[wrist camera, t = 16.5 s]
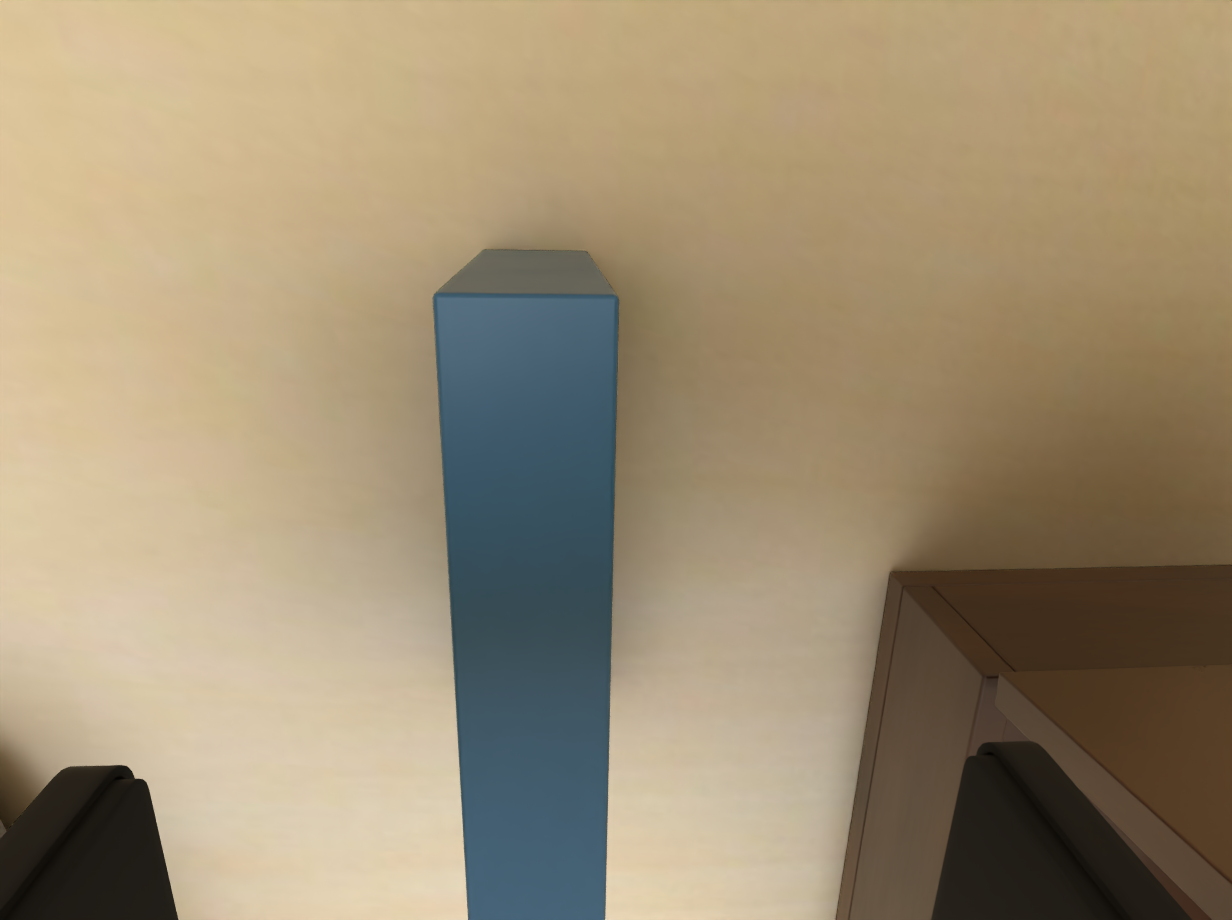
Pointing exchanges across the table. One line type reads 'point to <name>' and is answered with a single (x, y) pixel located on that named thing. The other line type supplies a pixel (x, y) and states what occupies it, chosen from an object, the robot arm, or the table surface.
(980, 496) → the table surface
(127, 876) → the robot arm
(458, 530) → the blue hardcover book
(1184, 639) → the box
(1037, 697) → the lid
